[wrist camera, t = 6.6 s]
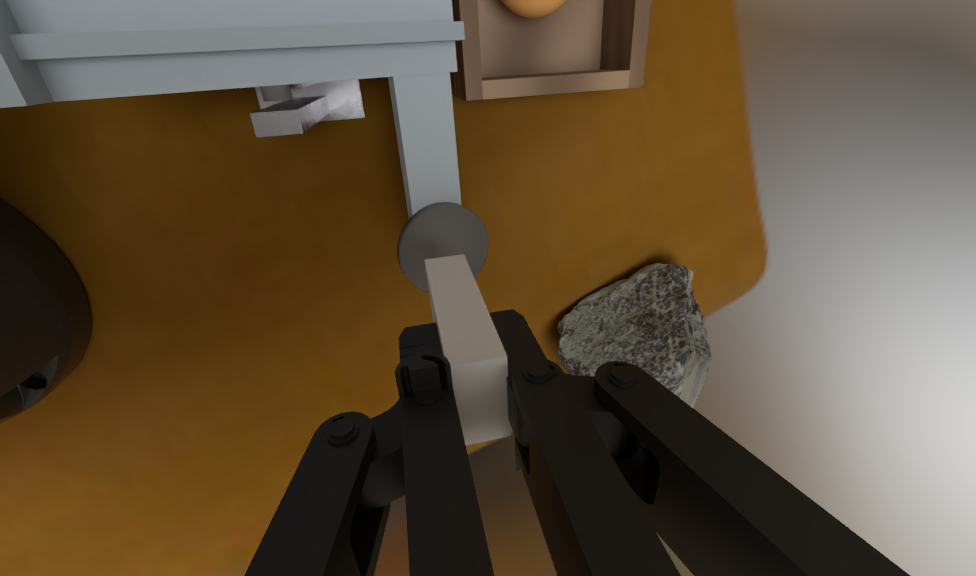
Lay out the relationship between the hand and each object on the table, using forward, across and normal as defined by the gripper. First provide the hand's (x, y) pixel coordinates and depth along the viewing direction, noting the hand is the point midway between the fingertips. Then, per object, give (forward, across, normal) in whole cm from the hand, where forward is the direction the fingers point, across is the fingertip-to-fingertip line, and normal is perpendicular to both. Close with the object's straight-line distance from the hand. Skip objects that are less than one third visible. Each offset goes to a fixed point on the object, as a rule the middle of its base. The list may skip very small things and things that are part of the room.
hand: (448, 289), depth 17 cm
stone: (+11, +13, -11) cm, 20 cm away
